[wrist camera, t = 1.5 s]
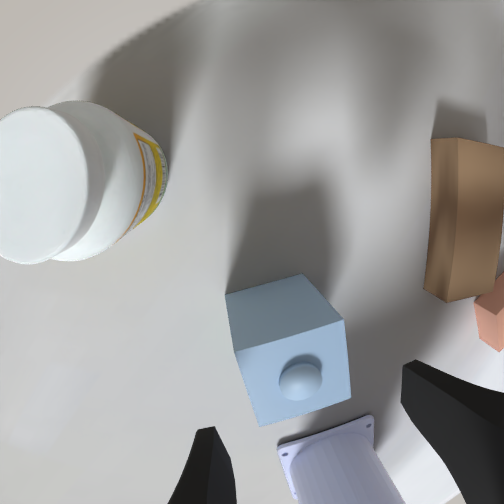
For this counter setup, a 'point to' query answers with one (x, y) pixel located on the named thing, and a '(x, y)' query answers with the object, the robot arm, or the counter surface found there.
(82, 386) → the counter surface
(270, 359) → the blue brick
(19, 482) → the counter surface
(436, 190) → the base brick
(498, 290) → the brick
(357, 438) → the robot arm
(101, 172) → the supplement bottle
